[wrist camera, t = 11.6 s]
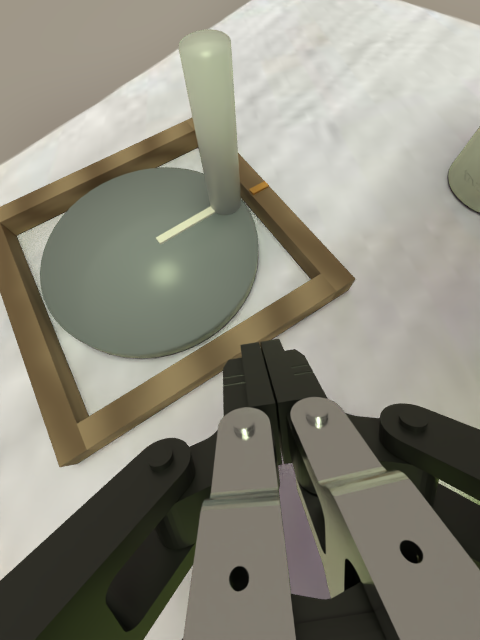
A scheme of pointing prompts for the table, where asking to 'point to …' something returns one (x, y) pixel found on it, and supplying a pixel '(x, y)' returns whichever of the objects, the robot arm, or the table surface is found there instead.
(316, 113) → the table surface
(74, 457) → the dial frame
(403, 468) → the robot arm
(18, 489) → the table surface
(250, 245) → the dial
